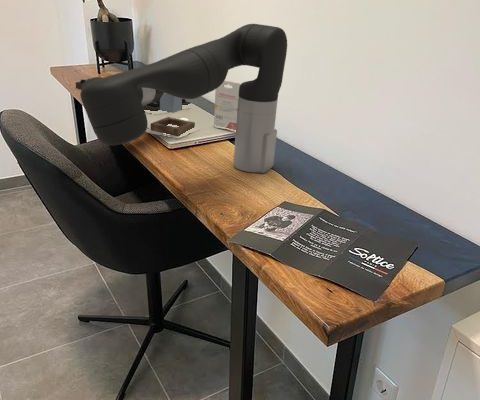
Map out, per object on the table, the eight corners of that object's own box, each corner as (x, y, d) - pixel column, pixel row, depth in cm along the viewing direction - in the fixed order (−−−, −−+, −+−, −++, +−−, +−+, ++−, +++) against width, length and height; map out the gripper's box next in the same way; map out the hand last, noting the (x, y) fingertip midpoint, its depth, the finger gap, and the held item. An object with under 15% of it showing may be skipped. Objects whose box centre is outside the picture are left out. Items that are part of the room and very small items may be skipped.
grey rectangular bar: (181, 109, 142) (183, 60, 136) (173, 112, 138) (174, 62, 132) (168, 107, 143) (169, 58, 138) (159, 110, 140) (160, 59, 134)
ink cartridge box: (244, 129, 150) (248, 81, 144) (237, 133, 146) (241, 83, 140) (220, 124, 154) (223, 77, 148) (212, 127, 150) (215, 79, 144)
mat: (199, 129, 146) (199, 128, 146) (178, 139, 136) (178, 138, 136) (167, 123, 150) (168, 121, 150) (145, 132, 140) (145, 130, 140)
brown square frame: (194, 128, 145) (194, 122, 145) (178, 136, 138) (178, 129, 137) (168, 123, 149) (168, 116, 148) (150, 130, 141) (150, 123, 140)
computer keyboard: (189, 110, 169) (190, 99, 167) (154, 116, 158) (154, 105, 156) (111, 85, 195) (111, 75, 193) (76, 89, 183) (75, 79, 182)
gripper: (119, 99, 129) (155, 89, 144) (165, 109, 124) (198, 97, 139) (118, 71, 126) (155, 63, 141) (166, 79, 121) (199, 70, 136)
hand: (176, 80), depth 140 cm, fingers closed on grey rectangular bar, 4 cm apart
